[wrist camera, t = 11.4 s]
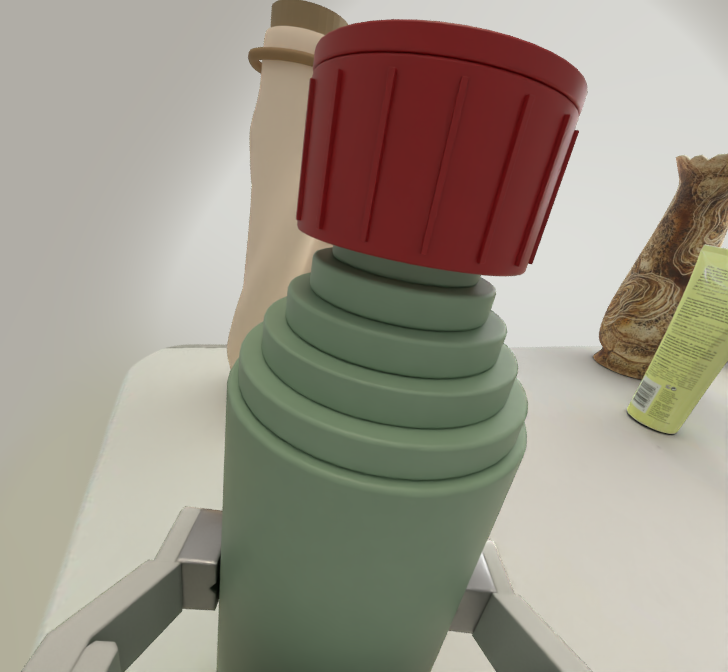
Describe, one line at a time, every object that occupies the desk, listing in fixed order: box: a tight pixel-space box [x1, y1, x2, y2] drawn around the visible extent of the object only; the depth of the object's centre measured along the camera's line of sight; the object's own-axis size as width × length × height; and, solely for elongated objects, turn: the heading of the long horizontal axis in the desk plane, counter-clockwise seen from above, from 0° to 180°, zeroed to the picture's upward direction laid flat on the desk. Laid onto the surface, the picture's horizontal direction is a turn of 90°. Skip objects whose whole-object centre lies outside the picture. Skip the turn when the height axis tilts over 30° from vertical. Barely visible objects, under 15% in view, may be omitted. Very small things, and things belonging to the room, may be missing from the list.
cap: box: [296, 19, 588, 276], centre depth 6 cm, size 4×4×3 cm
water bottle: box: [227, 0, 348, 369], centre depth 28 cm, size 10×9×28 cm
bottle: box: [217, 245, 528, 672], centre depth 9 cm, size 6×6×18 cm
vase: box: [593, 154, 728, 379], centre depth 51 cm, size 10×11×30 cm
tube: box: [627, 244, 728, 434], centre depth 37 cm, size 6×5×20 cm
